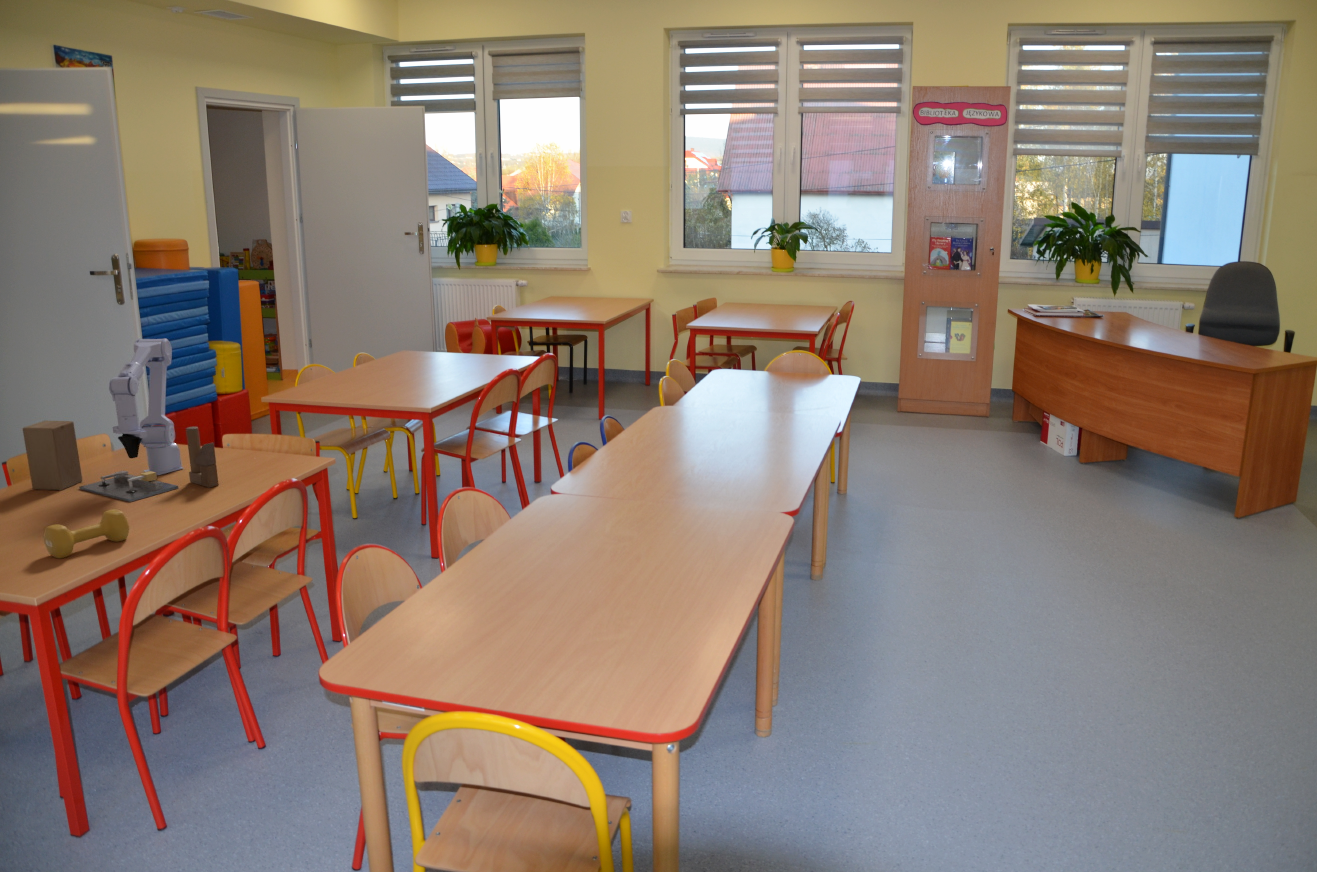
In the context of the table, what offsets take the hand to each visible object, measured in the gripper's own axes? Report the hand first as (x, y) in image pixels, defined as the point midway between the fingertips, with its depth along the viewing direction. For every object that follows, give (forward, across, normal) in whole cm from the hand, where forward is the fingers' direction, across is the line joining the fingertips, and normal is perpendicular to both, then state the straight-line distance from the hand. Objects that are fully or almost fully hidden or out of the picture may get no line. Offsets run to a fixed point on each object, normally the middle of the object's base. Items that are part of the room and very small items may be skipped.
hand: (133, 457), depth 301 cm
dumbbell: (+11, +38, -38) cm, 55 cm away
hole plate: (+10, -2, -2) cm, 10 cm away
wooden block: (+10, -25, -11) cm, 29 cm away
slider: (+9, +5, -1) cm, 10 cm away
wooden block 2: (+10, +14, +13) cm, 22 cm away
